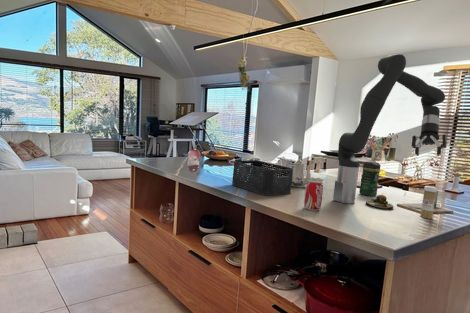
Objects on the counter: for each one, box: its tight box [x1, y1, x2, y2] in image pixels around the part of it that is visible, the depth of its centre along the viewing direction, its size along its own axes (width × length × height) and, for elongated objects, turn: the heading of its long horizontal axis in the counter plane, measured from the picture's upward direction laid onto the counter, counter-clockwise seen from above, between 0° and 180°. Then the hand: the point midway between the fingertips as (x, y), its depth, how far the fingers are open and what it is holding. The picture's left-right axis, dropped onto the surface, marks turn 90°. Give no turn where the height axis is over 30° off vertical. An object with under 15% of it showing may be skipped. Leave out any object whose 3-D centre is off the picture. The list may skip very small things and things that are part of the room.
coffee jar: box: [358, 161, 381, 197], centre depth 180 cm, size 10×8×19 cm
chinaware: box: [285, 158, 325, 188], centre depth 193 cm, size 28×17×17 cm, turn 57°
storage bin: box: [231, 160, 294, 197], centre depth 170 cm, size 29×19×13 cm
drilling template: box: [396, 190, 454, 215], centre depth 155 cm, size 20×14×9 cm
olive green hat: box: [365, 194, 394, 211], centre depth 152 cm, size 12×12×8 cm
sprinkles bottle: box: [420, 185, 438, 220], centre depth 138 cm, size 5×5×13 cm
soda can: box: [303, 180, 324, 212], centre depth 136 cm, size 7×7×12 cm
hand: (427, 155), depth 155 cm, fingers open, 8 cm apart
